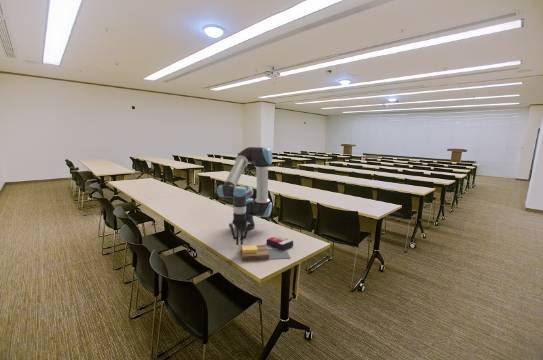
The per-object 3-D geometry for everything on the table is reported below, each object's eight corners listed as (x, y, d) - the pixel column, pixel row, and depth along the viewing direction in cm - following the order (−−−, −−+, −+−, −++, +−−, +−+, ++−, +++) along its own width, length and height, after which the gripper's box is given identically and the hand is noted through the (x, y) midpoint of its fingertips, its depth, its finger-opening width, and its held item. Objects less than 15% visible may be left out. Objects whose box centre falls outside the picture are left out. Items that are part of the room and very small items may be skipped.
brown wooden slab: (240, 250, 164) (240, 246, 163) (265, 249, 167) (265, 245, 166) (242, 261, 150) (242, 256, 150) (268, 259, 153) (269, 254, 153)
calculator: (277, 234, 182) (293, 239, 172) (277, 240, 183) (293, 245, 172) (266, 238, 175) (282, 244, 164) (266, 244, 175) (282, 250, 165)
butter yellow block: (241, 249, 160) (241, 246, 159) (256, 248, 161) (256, 245, 161) (242, 253, 154) (242, 250, 153) (257, 252, 155) (257, 249, 155)
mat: (265, 249, 167) (265, 248, 167) (285, 248, 170) (285, 247, 169) (269, 259, 154) (269, 259, 153) (290, 258, 156) (290, 257, 156)
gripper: (228, 214, 147) (228, 252, 151) (251, 214, 150) (250, 251, 154) (228, 210, 154) (228, 247, 159) (250, 210, 157) (249, 246, 161)
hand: (239, 249), depth 156 cm, fingers closed
